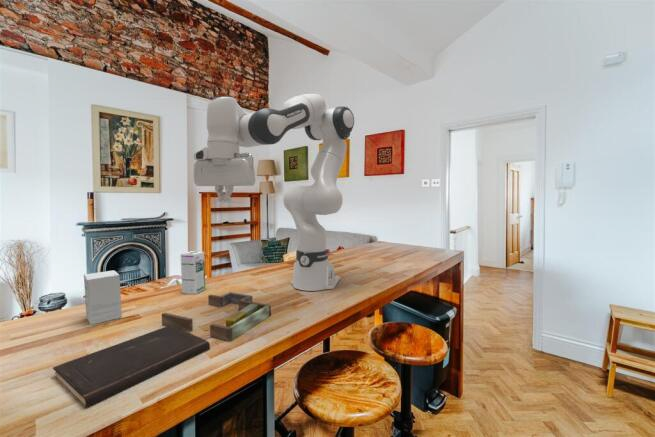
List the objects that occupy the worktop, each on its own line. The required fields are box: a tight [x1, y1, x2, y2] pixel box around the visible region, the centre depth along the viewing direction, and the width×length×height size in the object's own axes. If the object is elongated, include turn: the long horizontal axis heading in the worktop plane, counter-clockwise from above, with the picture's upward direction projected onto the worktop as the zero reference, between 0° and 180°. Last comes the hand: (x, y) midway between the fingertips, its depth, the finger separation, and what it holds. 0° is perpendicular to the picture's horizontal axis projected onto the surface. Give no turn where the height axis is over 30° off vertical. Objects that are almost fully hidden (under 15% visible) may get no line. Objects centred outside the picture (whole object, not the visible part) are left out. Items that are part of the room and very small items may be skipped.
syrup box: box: [180, 250, 206, 295], centre depth 108 cm, size 6×6×14 cm
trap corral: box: [161, 291, 272, 343], centre depth 86 cm, size 22×23×3 cm
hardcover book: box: [52, 325, 211, 409], centre depth 62 cm, size 16×23×2 cm
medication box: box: [225, 304, 258, 327], centre depth 81 cm, size 12×3×4 cm, turn 163°
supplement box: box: [83, 270, 123, 326], centre depth 84 cm, size 7×7×13 cm
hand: (224, 201), depth 88 cm, fingers closed
